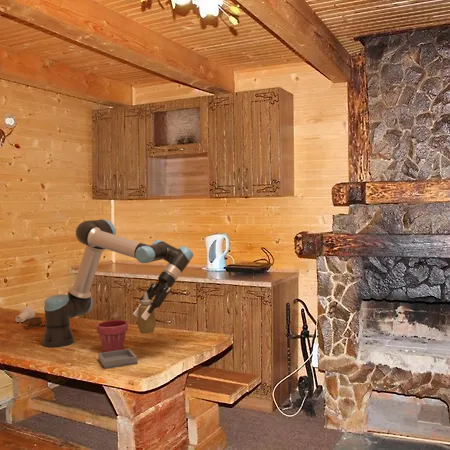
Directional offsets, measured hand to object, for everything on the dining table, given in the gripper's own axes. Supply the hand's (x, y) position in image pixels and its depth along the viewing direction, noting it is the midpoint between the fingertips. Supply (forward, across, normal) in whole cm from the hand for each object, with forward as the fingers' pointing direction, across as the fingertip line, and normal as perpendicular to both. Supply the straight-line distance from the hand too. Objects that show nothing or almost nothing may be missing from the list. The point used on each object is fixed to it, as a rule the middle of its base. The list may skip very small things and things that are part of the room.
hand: (139, 317), depth 232 cm
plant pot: (+15, +22, -12) cm, 30 cm away
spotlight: (+22, +115, -6) cm, 117 cm away
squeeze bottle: (+3, 0, -8) cm, 8 cm away
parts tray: (+20, +5, -7) cm, 22 cm away
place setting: (+22, +94, -7) cm, 97 cm away
